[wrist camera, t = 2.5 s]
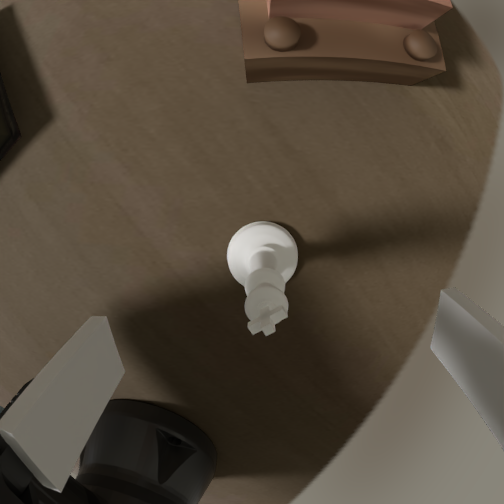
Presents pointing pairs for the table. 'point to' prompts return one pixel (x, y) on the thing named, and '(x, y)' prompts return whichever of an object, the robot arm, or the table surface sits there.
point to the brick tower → (342, 40)
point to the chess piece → (263, 271)
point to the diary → (7, 123)
